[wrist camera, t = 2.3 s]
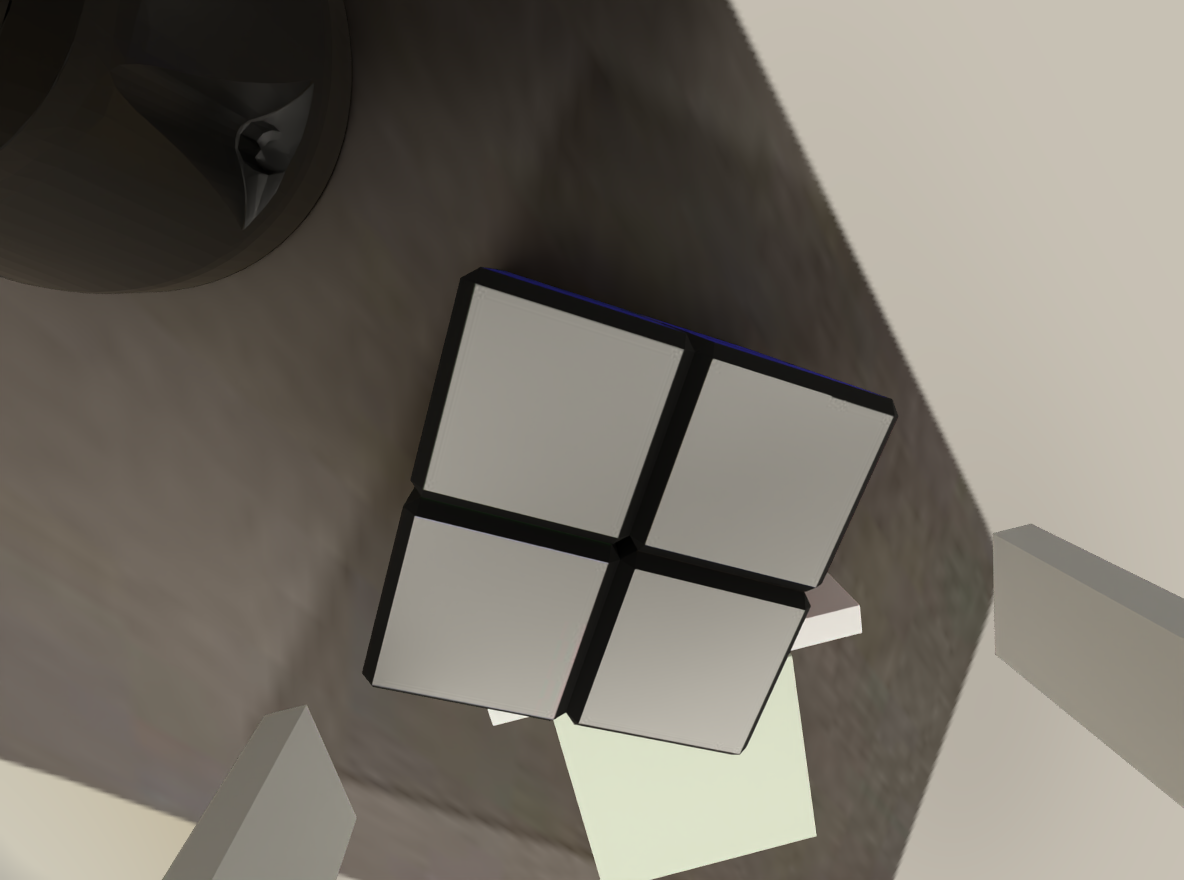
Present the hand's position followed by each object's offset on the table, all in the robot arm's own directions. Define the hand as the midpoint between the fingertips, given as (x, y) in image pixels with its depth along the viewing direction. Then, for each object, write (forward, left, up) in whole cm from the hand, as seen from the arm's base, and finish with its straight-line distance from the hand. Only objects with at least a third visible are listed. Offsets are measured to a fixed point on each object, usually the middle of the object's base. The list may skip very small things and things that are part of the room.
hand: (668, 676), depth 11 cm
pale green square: (+16, +1, -12) cm, 20 cm away
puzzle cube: (-1, 0, -13) cm, 13 cm away
